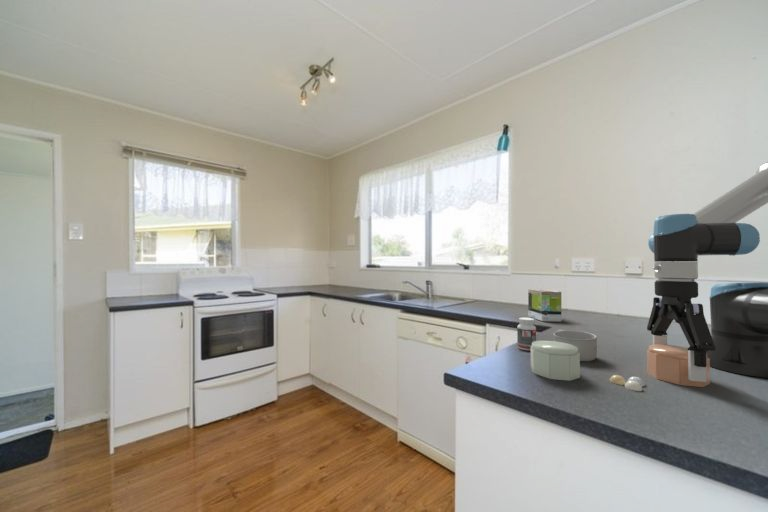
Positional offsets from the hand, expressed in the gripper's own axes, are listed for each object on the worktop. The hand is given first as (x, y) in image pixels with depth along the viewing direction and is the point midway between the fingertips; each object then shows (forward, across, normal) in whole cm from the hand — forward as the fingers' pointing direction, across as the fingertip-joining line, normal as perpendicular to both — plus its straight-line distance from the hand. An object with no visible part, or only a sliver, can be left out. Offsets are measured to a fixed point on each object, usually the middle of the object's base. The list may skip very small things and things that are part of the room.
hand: (677, 370), depth 73 cm
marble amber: (+2, +7, -15) cm, 16 cm away
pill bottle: (+3, -23, -29) cm, 37 cm away
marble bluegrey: (+2, +7, -11) cm, 13 cm away
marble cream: (+2, +10, -13) cm, 16 cm away
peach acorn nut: (+3, 0, 0) cm, 3 cm away
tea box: (+3, -85, -11) cm, 86 cm away
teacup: (+3, -14, -18) cm, 23 cm away
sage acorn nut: (+3, +4, -27) cm, 27 cm away
